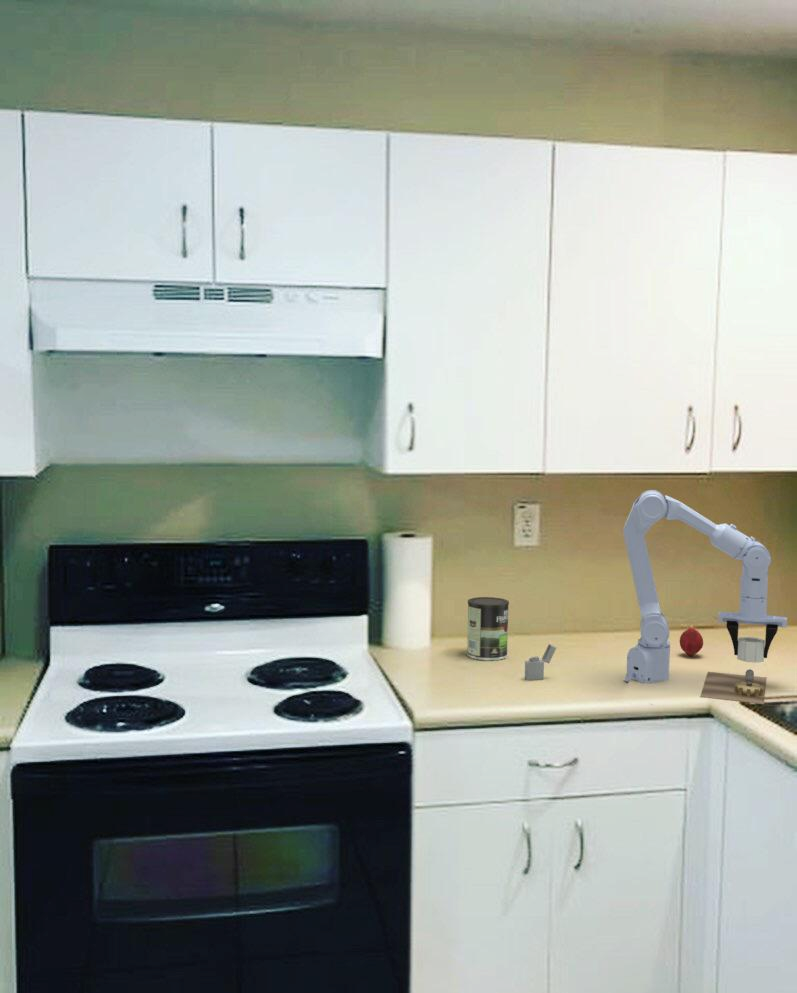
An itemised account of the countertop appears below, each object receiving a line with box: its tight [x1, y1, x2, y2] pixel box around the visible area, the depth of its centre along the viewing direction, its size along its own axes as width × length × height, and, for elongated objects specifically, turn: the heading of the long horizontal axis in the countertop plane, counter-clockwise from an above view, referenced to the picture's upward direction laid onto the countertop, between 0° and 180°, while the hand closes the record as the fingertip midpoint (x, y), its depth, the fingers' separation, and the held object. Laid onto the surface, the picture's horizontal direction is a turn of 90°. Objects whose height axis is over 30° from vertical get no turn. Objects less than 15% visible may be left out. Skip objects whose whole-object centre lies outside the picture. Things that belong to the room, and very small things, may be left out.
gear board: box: [699, 668, 767, 705], centre depth 228 cm, size 22×13×4 cm, turn 159°
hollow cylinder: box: [736, 636, 765, 664], centre depth 230 cm, size 6×6×4 cm
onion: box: [679, 624, 704, 657], centre depth 259 cm, size 6×6×8 cm
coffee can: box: [466, 596, 510, 662], centre depth 257 cm, size 10×10×14 cm
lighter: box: [524, 643, 557, 682], centre depth 237 cm, size 7×2×8 cm, turn 105°
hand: (750, 655), depth 230 cm, fingers closed on hollow cylinder, 6 cm apart
